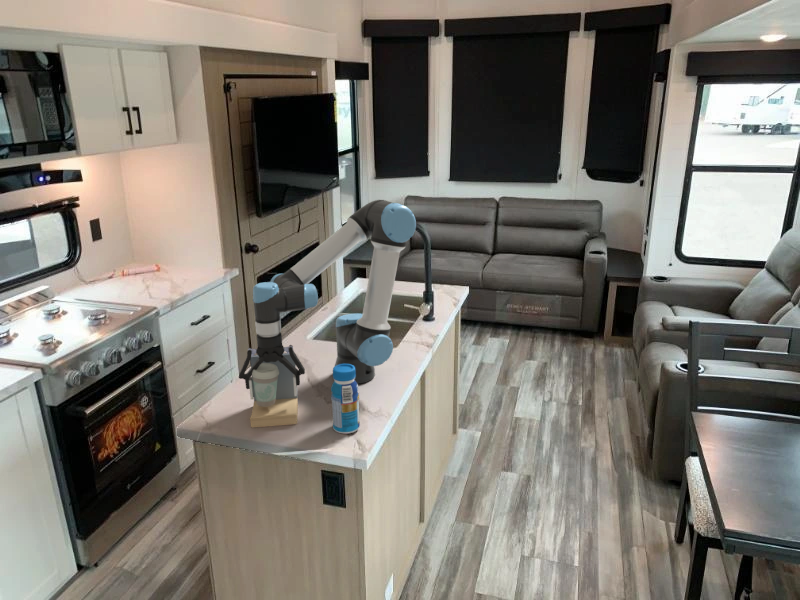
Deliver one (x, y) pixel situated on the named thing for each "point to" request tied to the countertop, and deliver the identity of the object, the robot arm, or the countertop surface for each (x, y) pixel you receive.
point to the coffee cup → (265, 384)
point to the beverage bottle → (345, 399)
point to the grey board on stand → (277, 399)
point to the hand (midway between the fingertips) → (274, 396)
